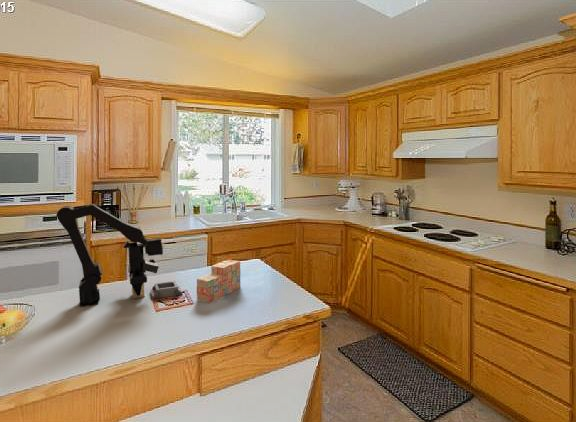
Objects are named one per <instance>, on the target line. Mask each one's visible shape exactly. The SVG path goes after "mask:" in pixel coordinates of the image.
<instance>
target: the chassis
mask: <svg viewBox="0 0 576 422" xmlns="http://www.w3.org/2000/svg"><path fill="white" fill-rule="evenodd" d="M150 295H151V299H153V300H154V299H156V300H159V299H160V298H161V297H162V298H167V297H175V296H176V297H179V296H181V295H183V289H182V288H181V286H180V285H178V283H177V282H176V280H172V281H163V282H157V283H154V285H153V286H152V288H151V289H150Z"/></svg>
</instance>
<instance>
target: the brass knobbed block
mask: <svg viewBox="0 0 576 422" xmlns="http://www.w3.org/2000/svg"><path fill="white" fill-rule="evenodd" d="M131 294H132V299H138V298H139V299H140V298H144V297H146V296H145V283H143V284H142V288H141V293H140V295H139V296H137V294H136V292H135V290H134V289H133V287H132V286H131Z"/></svg>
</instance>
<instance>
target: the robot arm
mask: <svg viewBox="0 0 576 422" xmlns="http://www.w3.org/2000/svg"><path fill="white" fill-rule="evenodd" d="M89 216H91V217H93V218H95V219H96V220H99V221H101V222H102V223H104V224H106V225H107V226H109V227H110V228H113V229H115V230H116V231H118V232H119V233H120V234H121V235H123V236H124V237H125V238H126V242H124V244H123V245H122V248H123V249H127V250H128V267H127V271H128V277H129V284H130V285H131V288H132V287H133V289H134V290H135V292H136V294H137V296H139V295H140V293H141V288H142V284H143V283H144V284H146V283H148V277H147V274H145V273H147V272H150V273H153V274H157V273H158V270H159V268H160V267H159V266H160V265H159V263H157V262H156V260H155V259H153V258H150V259H149V260H147V261H146V259H145V255H144V252H145V254H146V255H147V257H153V256H162V255H163V254H164V250H163V249H164V248H163V242H162V239H161V238H155V239H147V237H145V236H144V234H143V230H142V229H141V227H140V226H138V225H135V224H132V223H130V222H126V221H123V220H121V219H119V218H118V217H116V216H114V215H112V214H111V213H109V212H107V211H106V210H104V209H102V208H101V207H99V206H97V205H96V204H95V203H89V204H85V205H77V206H71V205H64V206H62V207H60V208H59V209H58V210H57V212H56V219H57V221H58V222H59V224H61V226H62V227H63V228H64V229H65V230H66V232H67V233H68V236H69V238H70V241H71V243H72V246H73V247H74V250H75V252H76V254H77V257H78V259H79V261H80V264H81V266H82V274H83V277H82V278H81V279H80V282H79V286H78V295H79V307H86V306H93V305H98V304H99V302H100V300H101V297H100V296H101V294H100V293H101V292H100V289H99V288H98V285H99V284H100V282H101V281H102V276H103V268H101V265H100V261H96V262H95V261H94V259H93V257H92V256H91V254H90V251H89V249H88V246H87V243H86V241H85V239H84V236H83V234H82V232H81V230H80V227H79V221H78V219H81V218H85V217H89ZM128 240H129V241H128Z"/></svg>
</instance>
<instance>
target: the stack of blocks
mask: <svg viewBox="0 0 576 422" xmlns="http://www.w3.org/2000/svg"><path fill="white" fill-rule="evenodd" d="M240 288H241V261H240V260H233V259H226V260H223V261H221V262H217V263H216V264H213V265H211V272H210V273H208V274H205V275H202V276H201V277H198V278H196V301H199V302H203V303H206V304H209V303H212V302H213V301H215V300H218V299H219V298H222V297H223V296H225V295H228V294H230V293H232V292H233V291H236V290H238V289H240Z"/></svg>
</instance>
